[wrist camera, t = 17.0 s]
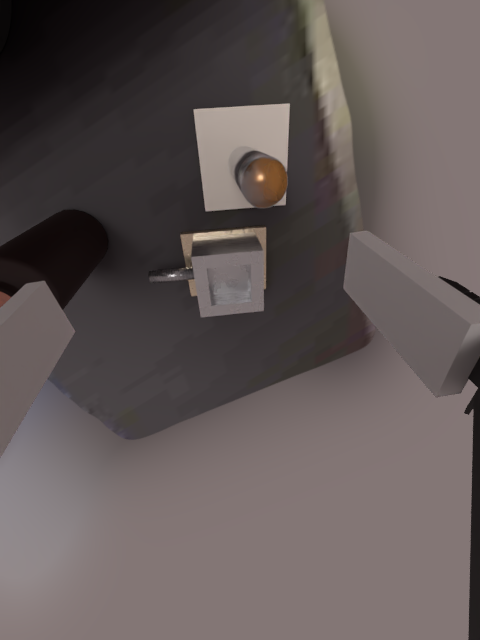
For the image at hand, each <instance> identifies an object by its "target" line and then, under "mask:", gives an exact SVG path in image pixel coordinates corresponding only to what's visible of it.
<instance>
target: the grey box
mask: <svg viewBox="0 0 480 640" xmlns="http://www.w3.org/2000/svg"><path fill="white" fill-rule="evenodd" d="M180 236H181V241H182V247H183V252H184V258H185V264H186V268H176V269H165V270H155V271H149V280H150V283H161V282H172V281H182V280H188V281H189V286H190V292H191V296H197V297H198V303H199V309H200V315H201V317H209V316H219V315H229V314H238V313H248V312H257V311H264V289H266V226H265V225H259V226H248V227H236V228H224V229H213V230H201V231H189V232H181V234H180Z"/></svg>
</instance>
